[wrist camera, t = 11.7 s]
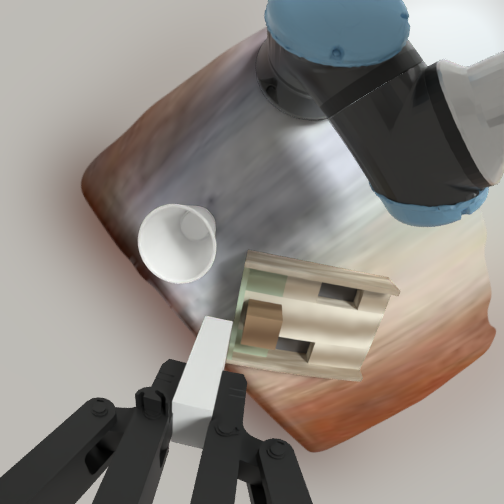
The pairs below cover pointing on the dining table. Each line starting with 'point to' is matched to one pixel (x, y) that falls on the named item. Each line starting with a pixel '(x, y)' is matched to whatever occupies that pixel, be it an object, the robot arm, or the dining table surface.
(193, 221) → the cup
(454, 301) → the dining table surface
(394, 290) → the box
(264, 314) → the block
